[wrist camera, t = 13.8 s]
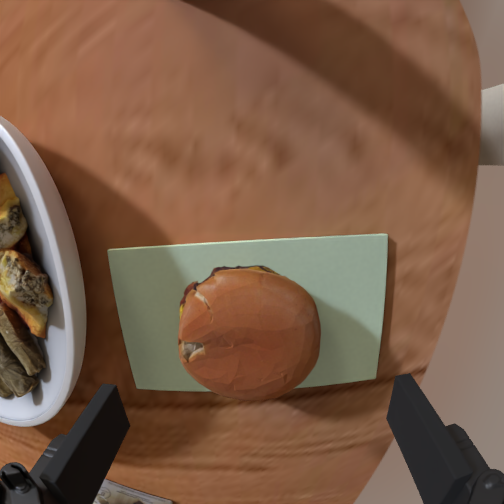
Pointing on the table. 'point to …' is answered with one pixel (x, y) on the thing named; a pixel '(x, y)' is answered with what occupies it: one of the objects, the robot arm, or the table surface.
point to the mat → (250, 254)
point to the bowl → (36, 288)
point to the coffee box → (125, 495)
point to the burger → (248, 333)
